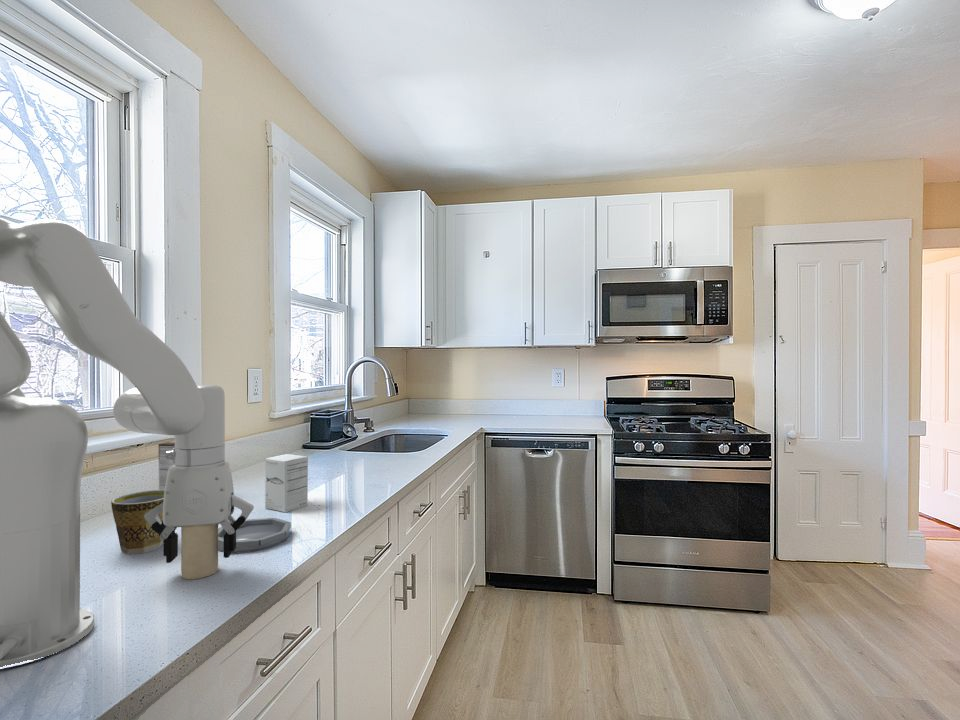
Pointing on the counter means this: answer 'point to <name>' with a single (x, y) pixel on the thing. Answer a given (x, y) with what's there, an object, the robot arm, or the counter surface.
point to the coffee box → (164, 462)
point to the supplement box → (286, 482)
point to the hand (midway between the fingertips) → (200, 556)
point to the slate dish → (257, 534)
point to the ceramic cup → (137, 521)
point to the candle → (199, 551)
